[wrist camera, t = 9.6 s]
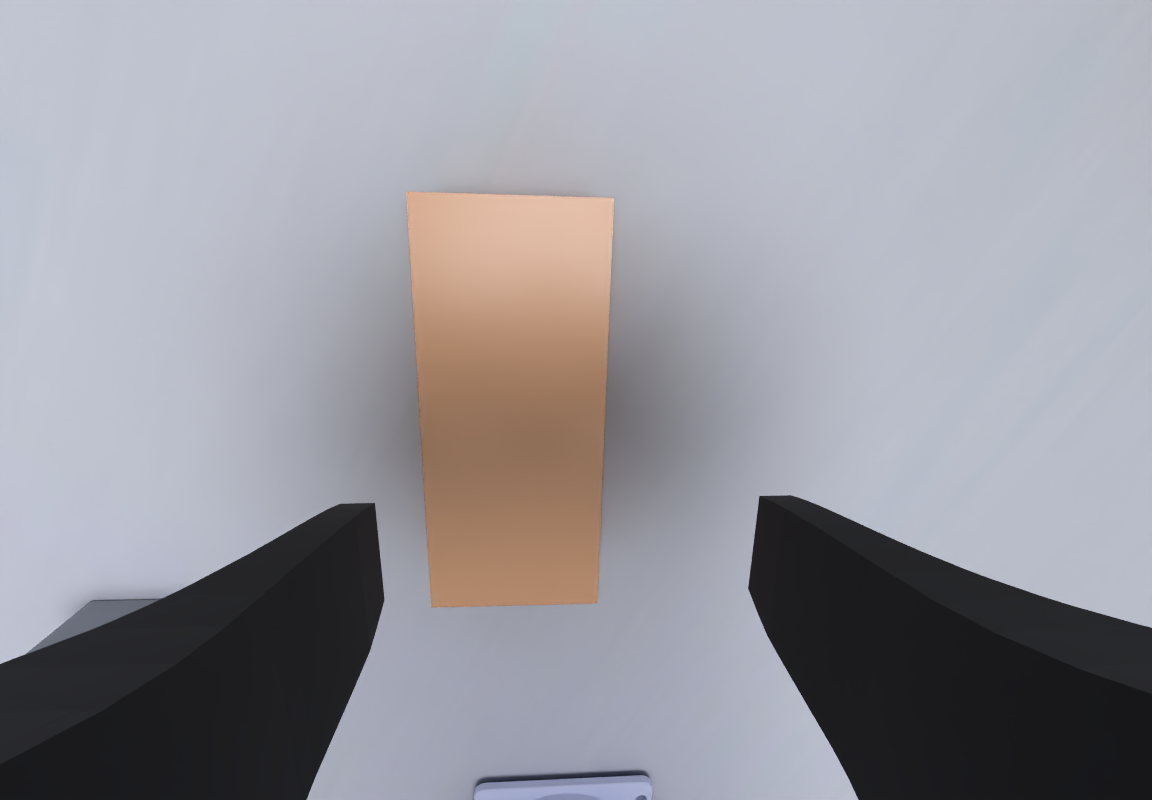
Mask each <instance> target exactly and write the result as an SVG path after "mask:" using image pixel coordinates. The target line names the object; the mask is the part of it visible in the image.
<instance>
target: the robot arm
mask: <svg viewBox="0 0 1152 800" xmlns="http://www.w3.org/2000/svg"><path fill="white" fill-rule="evenodd" d="M748 589H749V592H750V594H751V597H752V599H753V602H754V604H755V607H756V610H757V612H758V615H759V617H760V619H761V622H762V624H763V626H764V629H765V631H766V633H767V636H768V637H769V639H770V641H771V643H772V645H773V647H774V648H775V650H776V652H777V654H778V655H779V657H780V659H781V661H782V662H783V664H784V666H785V668H786V669H787V671H788V673H789V675H790V676H791V678H792V680H793V681H794V683H795V685H796V687H797V688H798V690H799V692H800V693H801V695H802V697H803V699H804V700H805V702H806V704H807V705H808V707H809V709H810V711H811V712H812V714H813V716H814V717H815V719H816V721H817V722H818V724H819V726H820V728H821V729H822V731H823V733H824V734H825V736H826V738H827V740H828V741H829V743H830V745H831V746H832V748H833V750H834V752H835V754H836V756H837V757H838V759H839V761H840V763H841V765H842V767H843V769H844V771H845V772H846V774H847V776H848V778H849V780H850V782H851V784H852V787H853V789H854V791H855V793H856V795H857V797H858V799H859V800H1152V628H1150V627H1146V626H1142V625H1138V624H1135V623H1131V622H1128V621H1124V620H1120V619H1117V618H1113V617H1110V616H1106V615H1103V614H1099V613H1096V612H1092V611H1088V610H1085V609H1081V608H1078V607H1074V606H1071V605H1068V604H1065V603H1061V602H1058V601H1055V600H1052V599H1048V598H1045V597H1042V596H1039V595H1036V594H1033V593H1030V592H1027V591H1024V590H1021V589H1019V588H1016V587H1013V586H1010V585H1007V584H1004V583H1001V582H998V581H995V580H992V579H989V578H987V577H984V576H981V575H979V574H976V573H973V572H971V571H968V570H965V569H963V568H960V567H958V566H955V565H953V564H951V563H948V562H946V561H943V560H941V559H938V558H936V557H933V556H931V555H929V554H926V553H924V552H921V551H919V550H917V549H914V548H912V547H910V546H907V545H905V544H903V543H901V542H898V541H896V540H894V539H892V538H889V537H887V536H885V535H883V534H881V533H878V532H876V531H874V530H872V529H870V528H867V527H865V526H863V525H861V524H859V523H857V522H854V521H852V520H850V519H848V518H846V517H843V516H841V515H839V514H837V513H835V512H832V511H830V510H828V509H826V508H823V507H821V506H819V505H816V504H814V503H811V502H809V501H806V500H803V499H801V498H797V497H794V496H791V495H790V496H760V497H759V505H758V513H757V521H756V530H755V538H754V546H753V554H752V562H751V571H750V579H749V587H748ZM383 603H384V591H383V581H382V571H381V561H380V551H379V541H378V530H377V520H376V510H375V503H357V504H339V505H337V506H334V507H332V508H330V509H328V510H326V511H324V512H322V513H320V514H318V515H316V516H315V517H313V518H311V519H309V520H307V521H306V522H304V523H302V524H300V525H299V526H297V527H295V528H293V529H292V530H290V531H288V532H286V533H285V534H283V535H281V536H280V537H278V538H276V539H274V540H273V541H271V542H269V543H267V544H266V545H264V546H262V547H260V548H259V549H257V550H255V551H253V552H252V553H250V554H248V555H246V556H244V557H242V558H240V559H239V560H237V561H235V562H233V563H231V564H229V565H227V566H225V567H223V568H222V569H220V570H218V571H216V572H214V573H212V574H210V575H208V576H206V577H204V578H203V579H201V580H199V581H197V582H195V583H193V584H191V585H189V586H187V587H185V588H183V589H181V590H179V591H177V592H175V593H173V594H171V595H169V596H167V597H165V598H162V599H160V600H158V601H156V602H154V603H152V604H150V605H147V606H145V607H143V608H140V609H138V610H136V611H134V612H131V613H129V614H127V615H124V616H122V617H120V618H118V619H115V620H113V621H111V622H108V623H106V624H104V625H101V626H99V627H96V628H94V629H92V630H89V631H86V632H84V633H81V634H78V635H76V636H73V637H70V638H68V639H65V640H62V641H60V642H57V643H55V644H52V645H49V646H47V647H44V648H41V649H39V650H36V651H33V652H31V653H28V654H25V655H23V656H20V657H18V658H15V659H12V660H10V661H7V662H4V663H2V664H0V800H307V797H308V794H309V792H310V789H311V787H312V784H313V782H314V779H315V777H316V774H317V772H318V770H319V767H320V765H321V763H322V761H323V758H324V756H325V754H326V751H327V749H328V747H329V745H330V742H331V740H332V738H333V735H334V733H335V731H336V729H337V726H338V724H339V722H340V719H341V717H342V715H343V713H344V710H345V708H346V706H347V703H348V701H349V699H350V697H351V694H352V692H353V690H354V687H355V685H356V683H357V680H358V678H359V676H360V673H361V671H362V669H363V666H364V664H365V661H366V659H367V657H368V654H369V652H370V649H371V646H372V642H373V639H374V636H375V632H376V629H377V625H378V622H379V618H380V614H381V610H382V607H383ZM474 800H652V784H651V780H650V779H649V778H648V777H646V776H643V775H635V776H614V777H593V778H572V779H552V780H531V781H510V782H489V783H482V784H480V785H478V786H477V787H476V788H475V791H474Z"/></svg>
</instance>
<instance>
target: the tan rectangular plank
mask: <svg viewBox="0 0 1152 800" xmlns="http://www.w3.org/2000/svg"><path fill="white" fill-rule="evenodd" d="M406 197H407V213H408V230H409V246H410V263H411V279H412V296H413V312H414V329H415V345H416V362H417V378H418V395H419V411H420V428H421V444H422V461H423V477H424V494H425V510H426V527H427V543H428V560H429V576H430V593H431V608H432V607H472V606H513V605H553V604H593V603H597V602H598V578H599V554H600V529H601V505H602V480H603V456H604V431H605V407H606V382H607V358H608V333H609V309H610V284H611V260H612V235H613V211H614V198H599V197H567V196H534V195H501V194H468V193H435V192H406Z"/></svg>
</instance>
